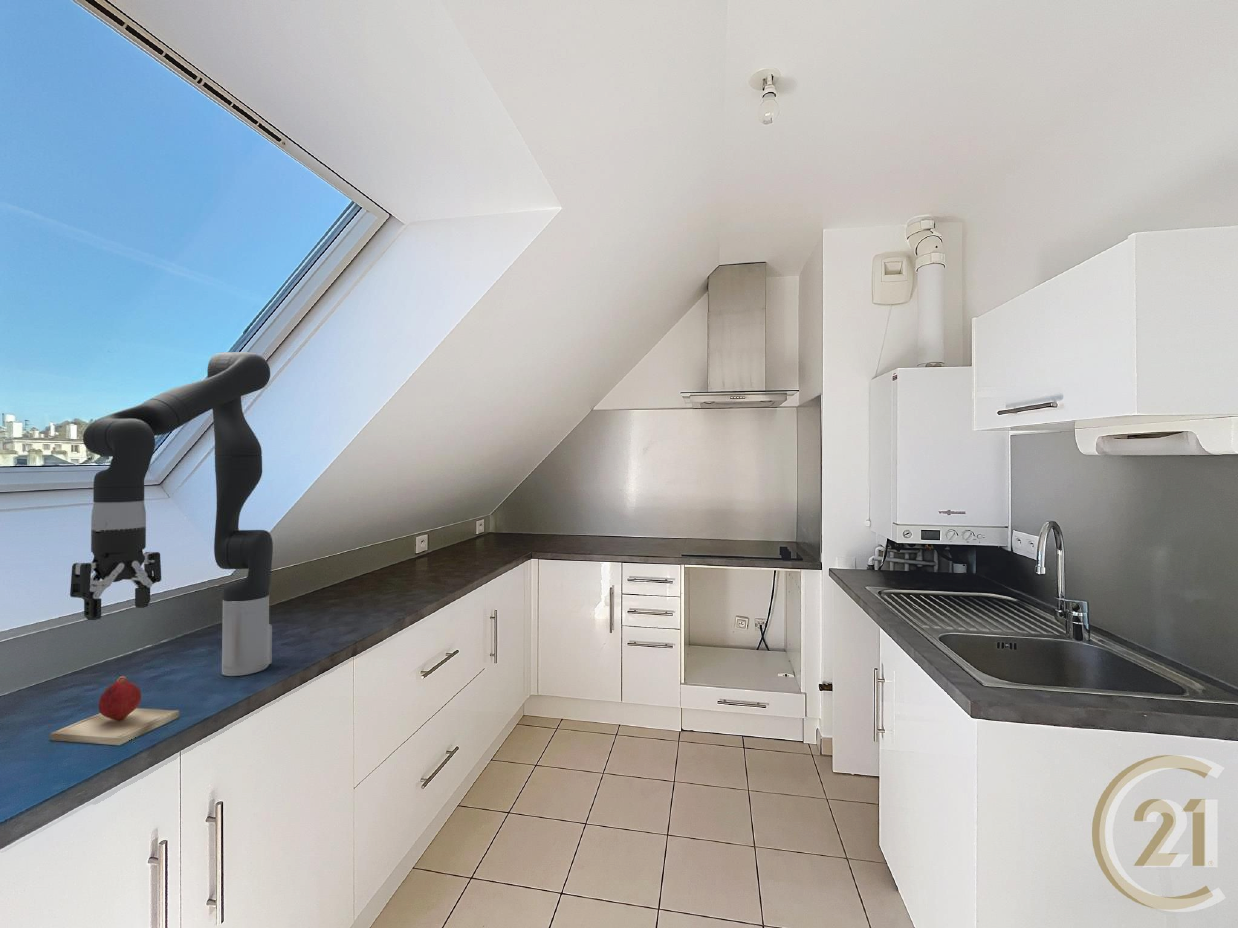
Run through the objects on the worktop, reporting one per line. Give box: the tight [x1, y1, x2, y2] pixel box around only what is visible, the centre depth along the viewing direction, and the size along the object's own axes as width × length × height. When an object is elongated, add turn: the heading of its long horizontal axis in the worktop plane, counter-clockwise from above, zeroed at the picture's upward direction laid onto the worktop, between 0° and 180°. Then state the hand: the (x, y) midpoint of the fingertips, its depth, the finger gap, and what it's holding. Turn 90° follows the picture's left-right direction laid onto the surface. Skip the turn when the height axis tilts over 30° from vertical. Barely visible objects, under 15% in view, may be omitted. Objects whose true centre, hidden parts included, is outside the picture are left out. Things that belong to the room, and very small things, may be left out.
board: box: [50, 707, 180, 746], centre depth 100 cm, size 11×14×1 cm
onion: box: [97, 675, 142, 721], centre depth 101 cm, size 6×6×8 cm
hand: (118, 613), depth 101 cm, fingers open, 8 cm apart
